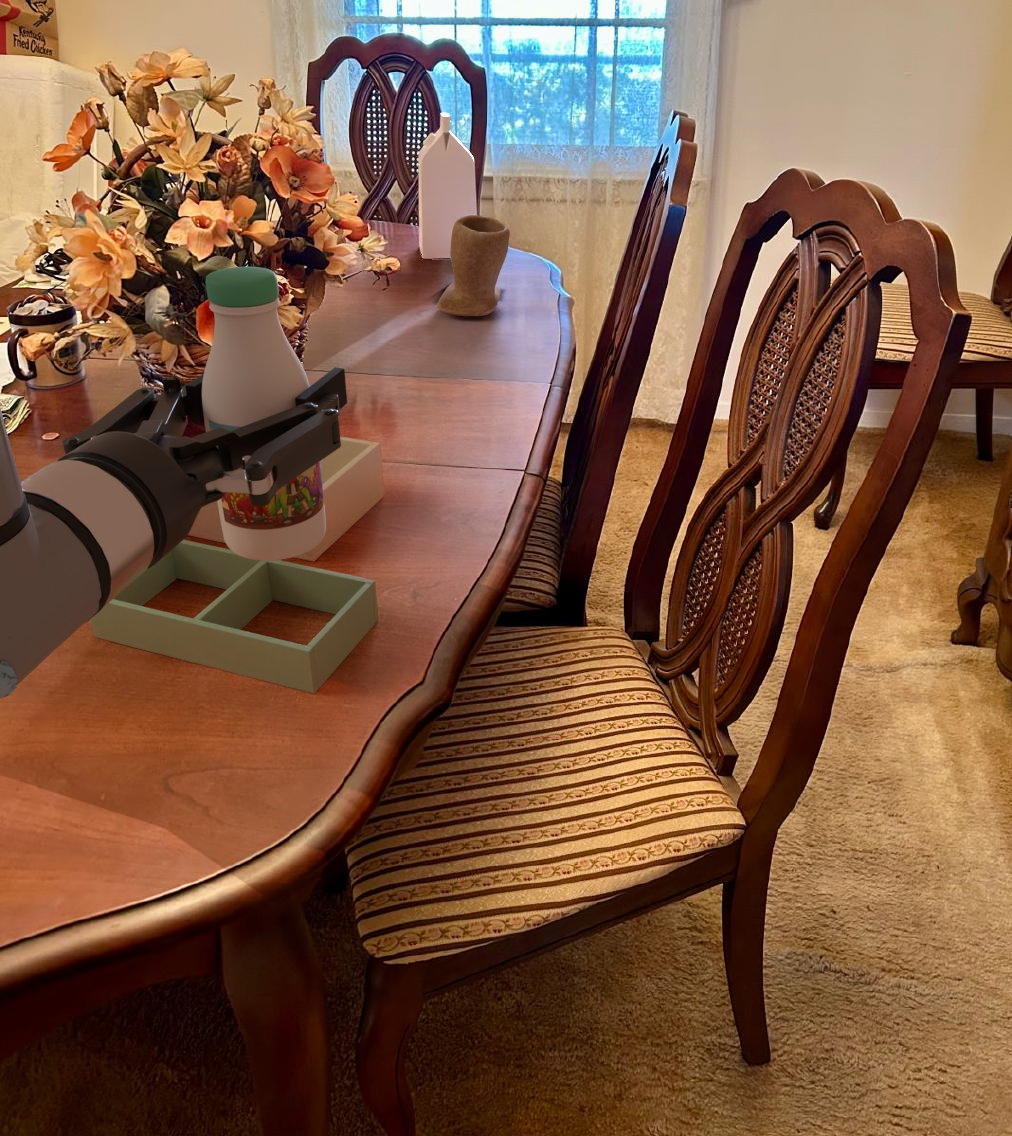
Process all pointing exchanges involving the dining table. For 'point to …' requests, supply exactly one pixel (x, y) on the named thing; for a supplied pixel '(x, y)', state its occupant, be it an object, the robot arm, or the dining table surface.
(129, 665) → the dining table surface
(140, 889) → the dining table surface
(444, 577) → the dining table surface
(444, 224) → the milk
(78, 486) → the robot arm
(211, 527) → the cream square box
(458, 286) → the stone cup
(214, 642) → the green divided tray
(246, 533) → the milk bottle
